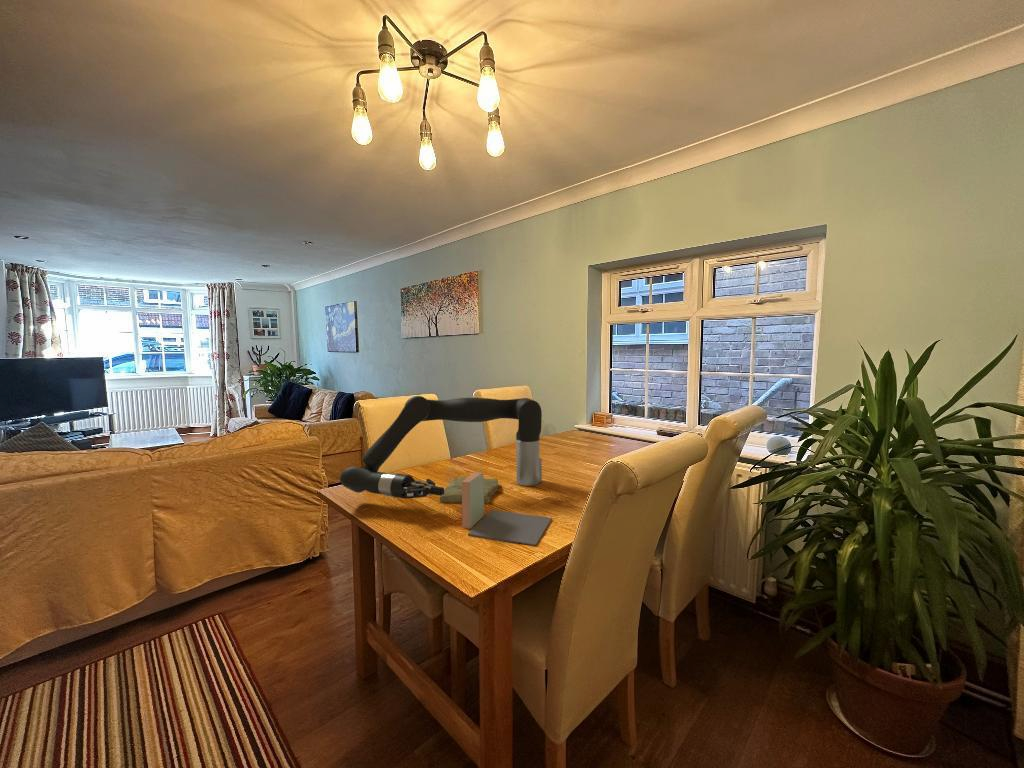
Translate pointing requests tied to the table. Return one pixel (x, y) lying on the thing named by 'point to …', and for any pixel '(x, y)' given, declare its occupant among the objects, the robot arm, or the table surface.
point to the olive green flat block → (455, 490)
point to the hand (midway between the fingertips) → (443, 491)
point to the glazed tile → (472, 499)
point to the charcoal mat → (511, 527)
